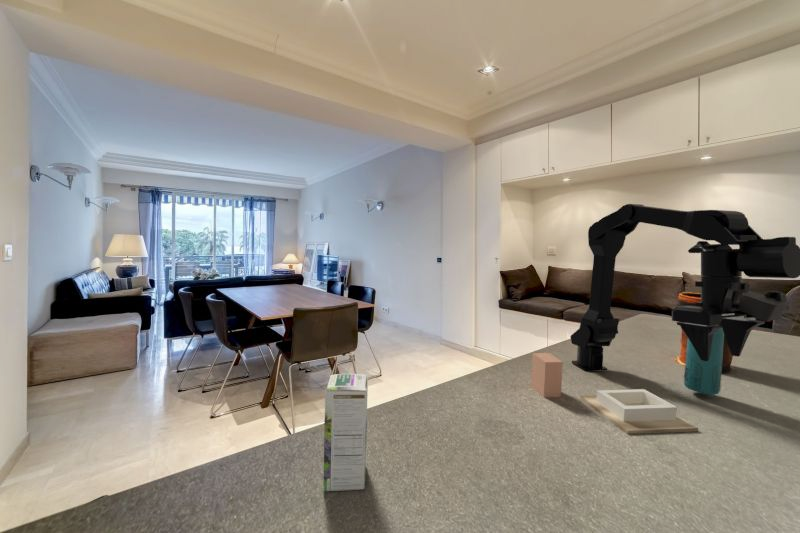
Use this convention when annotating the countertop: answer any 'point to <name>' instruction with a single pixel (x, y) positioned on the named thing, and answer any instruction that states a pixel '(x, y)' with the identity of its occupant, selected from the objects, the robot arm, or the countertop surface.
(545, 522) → the countertop surface
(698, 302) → the robot arm
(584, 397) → the socket base
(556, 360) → the terracotta peg
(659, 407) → the socket collar
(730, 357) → the vessel
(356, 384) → the syrup box
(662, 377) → the countertop surface
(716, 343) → the beverage bottle
